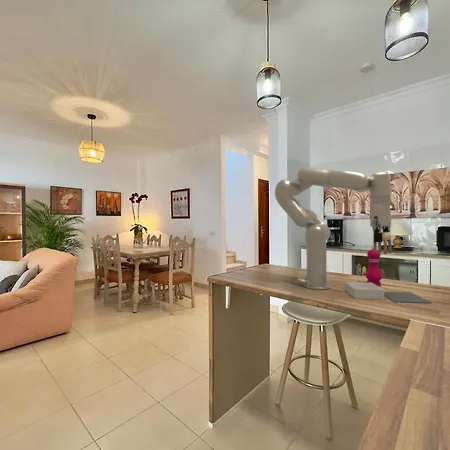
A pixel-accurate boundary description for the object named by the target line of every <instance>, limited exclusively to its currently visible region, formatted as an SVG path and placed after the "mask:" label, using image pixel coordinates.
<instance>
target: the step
mask: <svg viewBox="0 0 450 450" xmlns="http://www.w3.org/2000/svg"><path fill="white" fill-rule="evenodd" d="M344 288H345V289H344V290H345V292H346V291H347V292H346V293H348V294H349V295H350V296H351V297H353V299H360V300H361V299H365V300H366V299H367V300H385V296H384V292H385V289H384V288H382V287H380V286H377V285H375V284H373V283H367V282H359V281H358V282H355V281H354V282H352V281H351V282H349V281H346V282H345V285H344Z"/></svg>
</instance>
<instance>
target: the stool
mask: <svg viewBox="0 0 450 450" xmlns="http://www.w3.org/2000/svg"><path fill="white" fill-rule="evenodd" d="M381 233H382V240H384V241H383V254H384V255H388V253H389V254H392V252H393V251H392V233H391V231H390V232H383V231H381ZM372 234H373V235H372V236H373V238H372V239H373V243H372V244H373V245H372V246H374V253H377V250H378V252H380V253H382V242H374V233H373V232H372ZM387 240H388V241H387Z"/></svg>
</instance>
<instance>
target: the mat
mask: <svg viewBox="0 0 450 450" xmlns="http://www.w3.org/2000/svg"><path fill="white" fill-rule="evenodd" d="M384 298H387V299H388V300H390V301H391V302H393V303H398V302H400V303H402V304H403V303H404V304H405V303H406V304H432V302H431V301H430V300H427V299H425V298H423V297H421V296H419V295H417V294H415V293H413V292H411V291H410V292H408V291H384Z"/></svg>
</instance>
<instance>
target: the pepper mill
mask: <svg viewBox="0 0 450 450" xmlns="http://www.w3.org/2000/svg"><path fill="white" fill-rule="evenodd" d="M366 256H367V257H368V268H367V271H366V273H365V278H366V279H367V280H366V283H373V284H375V285H377V286H378V287H380V285H382V284H381V283H382V282H381V280H382V278H383V276H382V275H383V274H382V273H381V272H382V271H381V270H380V268H379V267H380V266H379V262H380V258H381V252H378V249H377V253H374V245H372V247H371V249H369V250H367V253H366Z"/></svg>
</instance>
